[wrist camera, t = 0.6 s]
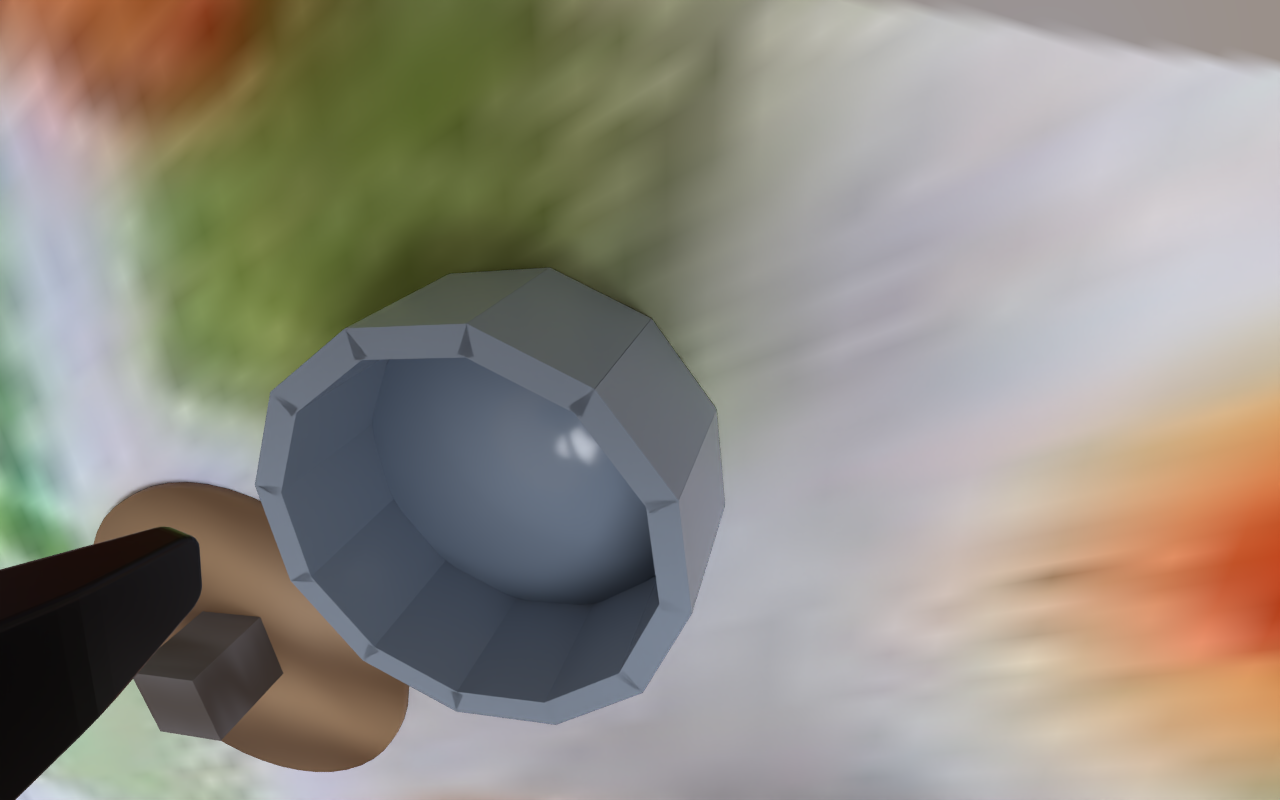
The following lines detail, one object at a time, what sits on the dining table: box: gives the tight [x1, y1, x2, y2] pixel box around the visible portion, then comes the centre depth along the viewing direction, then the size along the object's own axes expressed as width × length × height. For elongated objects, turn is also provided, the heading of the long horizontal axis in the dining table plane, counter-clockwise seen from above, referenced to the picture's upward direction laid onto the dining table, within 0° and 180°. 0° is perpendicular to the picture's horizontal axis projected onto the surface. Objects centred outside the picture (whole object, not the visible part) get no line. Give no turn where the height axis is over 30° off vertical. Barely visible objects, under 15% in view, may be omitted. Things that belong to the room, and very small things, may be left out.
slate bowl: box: [255, 268, 725, 725], centre depth 21 cm, size 12×12×5 cm
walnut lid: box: [94, 482, 409, 772], centre depth 30 cm, size 15×15×4 cm
